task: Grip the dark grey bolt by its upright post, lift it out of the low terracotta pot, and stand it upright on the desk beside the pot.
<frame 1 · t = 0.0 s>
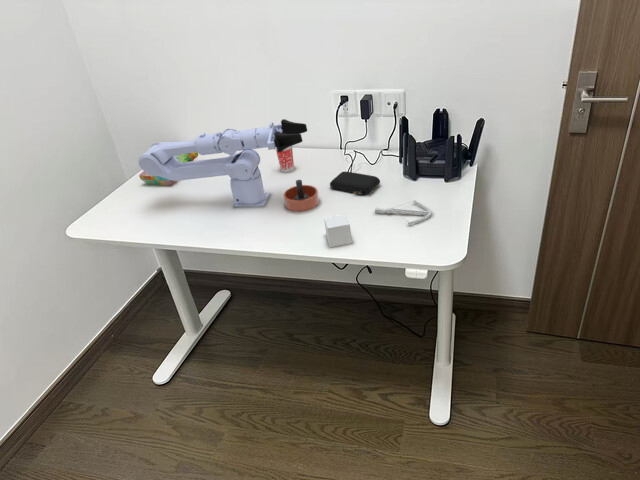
hand: (304, 132, 155), 22 cm above the table, tool horizontal, fingers open, 7 cm apart
white cube: (339, 240, 148), on the table
pot: (302, 204, 166), on the table
puzzle game: (172, 173, 192), on the table
carrying case: (354, 188, 172), on the table
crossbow: (402, 214, 156), on the table
beverage cup: (287, 169, 187), on the table
dark grey bolt: (302, 203, 165), resting on pot
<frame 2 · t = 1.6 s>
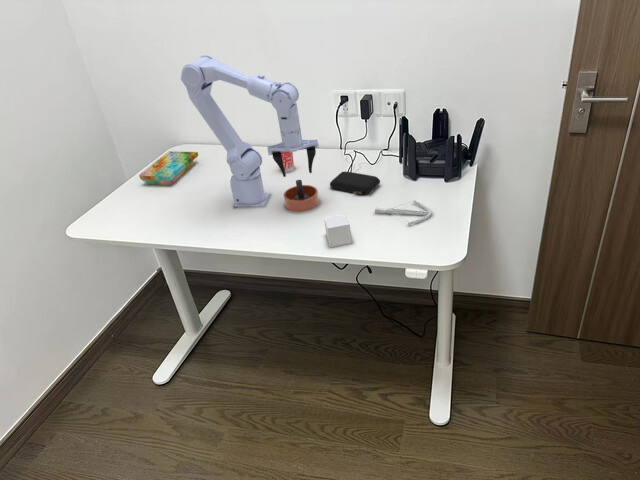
hand: (297, 173, 160), 10 cm above the table, tool pointing down, fingers open, 7 cm apart
nothing on the table moved.
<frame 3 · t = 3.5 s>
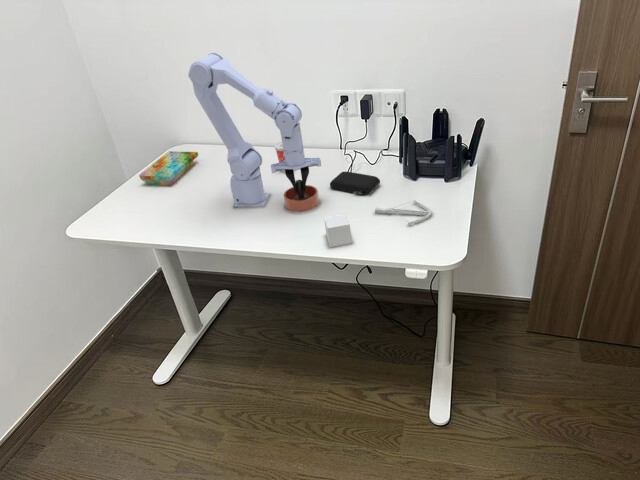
hand: (300, 190, 163), 5 cm above the table, tool pointing down, fingers closed on dark grey bolt, 2 cm apart
dark grey bolt: (302, 203, 165), point 1 cm above the table, touching gripper, pot
everything else where it was.
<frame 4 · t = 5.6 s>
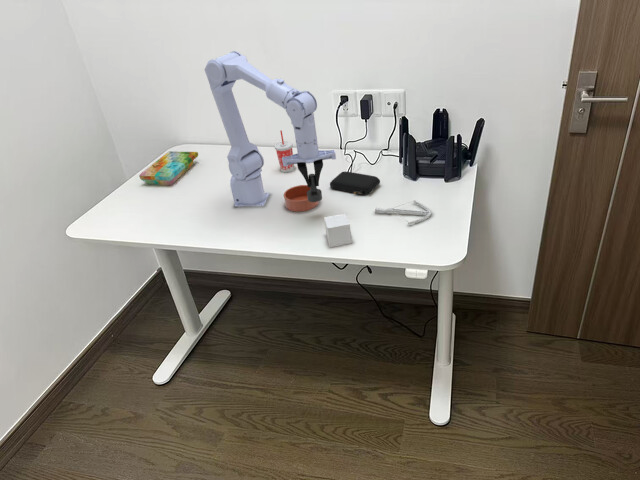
hand: (313, 185, 153), 10 cm above the table, tool pointing down, fingers closed on dark grey bolt
dark grey bolt: (315, 198, 155), point 6 cm above the table, touching gripper
everything else where it was.
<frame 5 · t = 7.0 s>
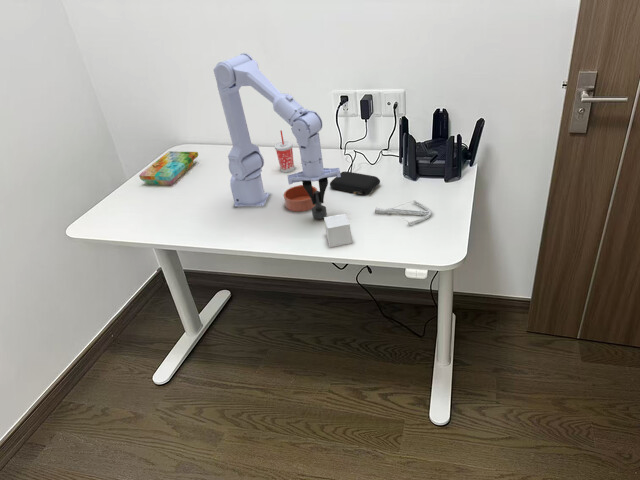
hand: (317, 202, 154), 6 cm above the table, tool pointing down, fingers closed on dark grey bolt, 2 cm apart
dark grey bolt: (319, 215, 157), point 1 cm above the table, touching gripper
everything else where it was.
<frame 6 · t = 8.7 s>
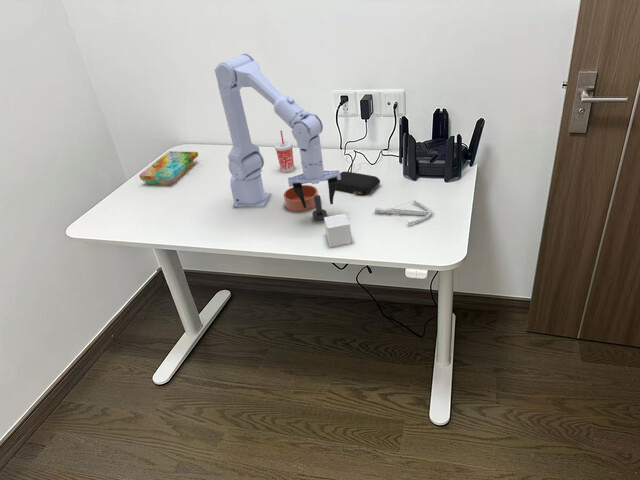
hand: (318, 204, 155), 5 cm above the table, tool pointing down, fingers open, 7 cm apart
dark grey bolt: (320, 219, 158), on the table
everything else where it was.
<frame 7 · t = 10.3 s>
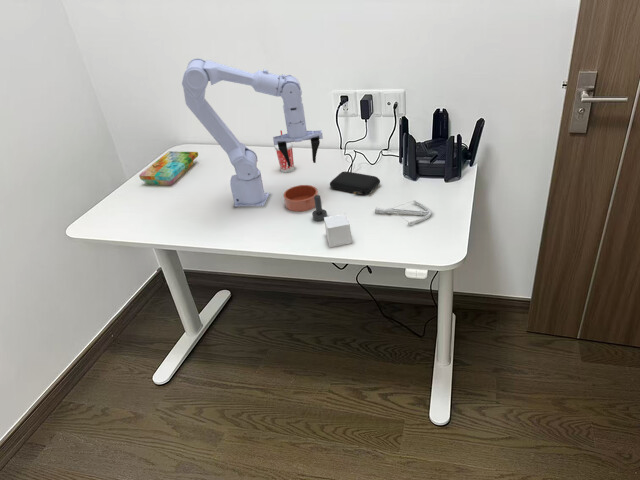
hand: (301, 163, 165), 10 cm above the table, tool pointing down, fingers open, 7 cm apart
nothing on the table moved.
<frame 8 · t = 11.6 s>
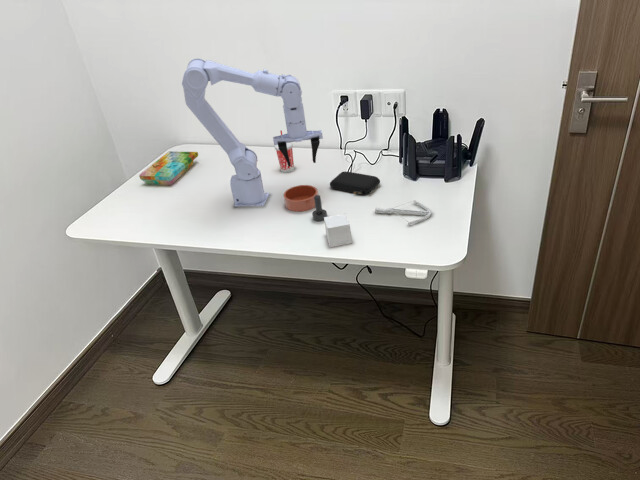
hand: (301, 163, 165), 10 cm above the table, tool pointing down, fingers open, 7 cm apart
nothing on the table moved.
at the end: dark grey bolt inside the target area (0.0 cm from its centre), on the table; dark grey bolt tilted 0°; dark grey bolt touching table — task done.
